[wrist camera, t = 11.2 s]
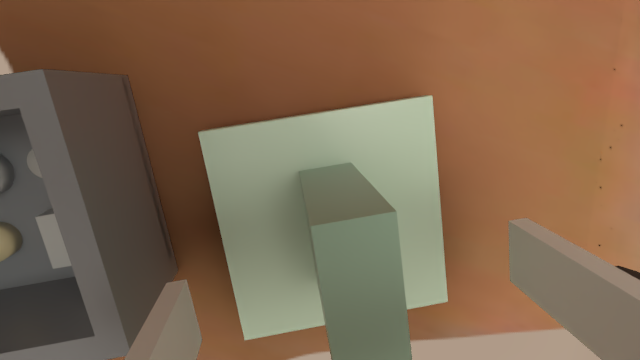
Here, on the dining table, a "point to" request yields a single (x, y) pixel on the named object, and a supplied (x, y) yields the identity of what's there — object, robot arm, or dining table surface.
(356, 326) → the lid
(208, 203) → the dining table surface
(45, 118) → the parts tub
